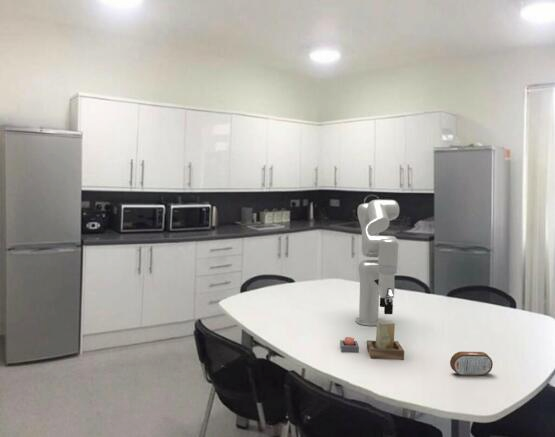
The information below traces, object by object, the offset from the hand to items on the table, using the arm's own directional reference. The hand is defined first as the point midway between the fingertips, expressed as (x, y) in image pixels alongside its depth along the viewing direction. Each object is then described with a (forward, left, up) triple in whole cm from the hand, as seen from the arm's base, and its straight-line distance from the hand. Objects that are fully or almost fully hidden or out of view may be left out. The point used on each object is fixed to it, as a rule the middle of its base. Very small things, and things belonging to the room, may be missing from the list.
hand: (385, 310), depth 183 cm
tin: (+18, +28, -18) cm, 38 cm away
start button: (-4, -14, -16) cm, 22 cm away
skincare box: (0, 0, -17) cm, 17 cm away
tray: (0, 0, -18) cm, 18 cm away
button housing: (-4, -14, -18) cm, 23 cm away
